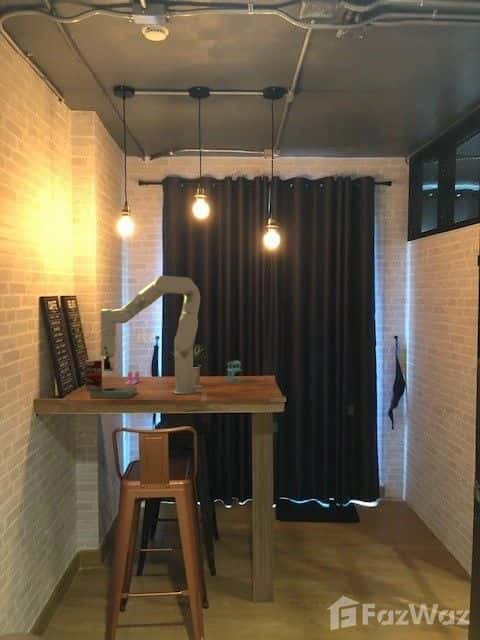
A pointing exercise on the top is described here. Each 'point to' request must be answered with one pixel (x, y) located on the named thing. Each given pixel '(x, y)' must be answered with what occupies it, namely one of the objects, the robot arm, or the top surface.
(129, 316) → the robot arm
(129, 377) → the pink notched block
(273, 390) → the top surface
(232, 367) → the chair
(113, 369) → the bushing
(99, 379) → the supplement box
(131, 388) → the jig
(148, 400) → the top surface
